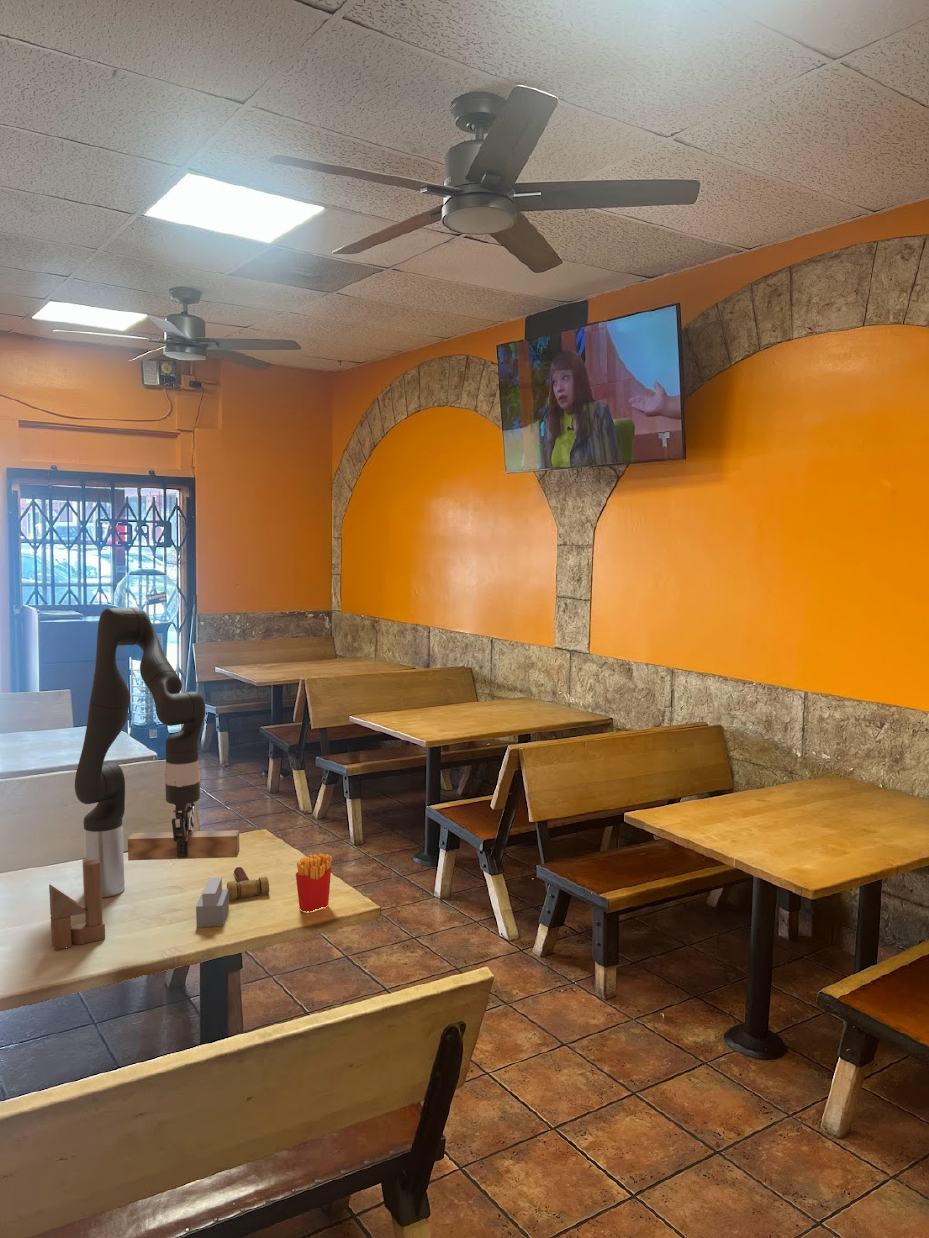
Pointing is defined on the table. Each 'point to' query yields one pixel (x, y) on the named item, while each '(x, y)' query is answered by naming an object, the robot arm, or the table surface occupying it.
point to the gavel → (246, 886)
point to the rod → (198, 845)
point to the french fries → (313, 881)
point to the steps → (212, 904)
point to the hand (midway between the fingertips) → (184, 853)
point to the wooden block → (78, 911)
